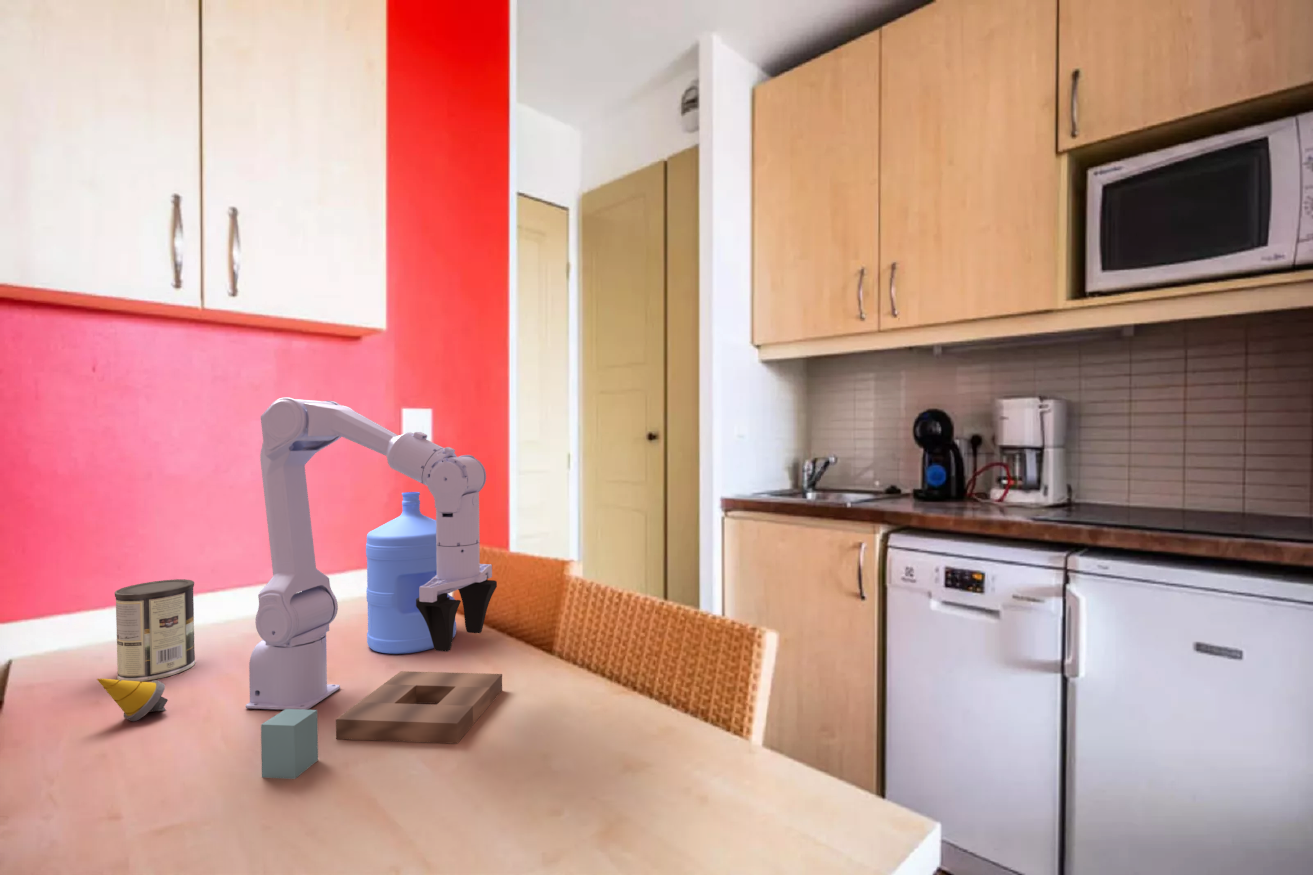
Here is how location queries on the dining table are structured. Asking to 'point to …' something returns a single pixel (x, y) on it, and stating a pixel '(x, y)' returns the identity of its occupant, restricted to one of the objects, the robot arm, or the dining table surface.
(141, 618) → the coffee can
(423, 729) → the block with rectangular hole
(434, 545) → the water jug
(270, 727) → the pale blue box
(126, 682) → the drill bit
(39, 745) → the dining table surface
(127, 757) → the dining table surface
